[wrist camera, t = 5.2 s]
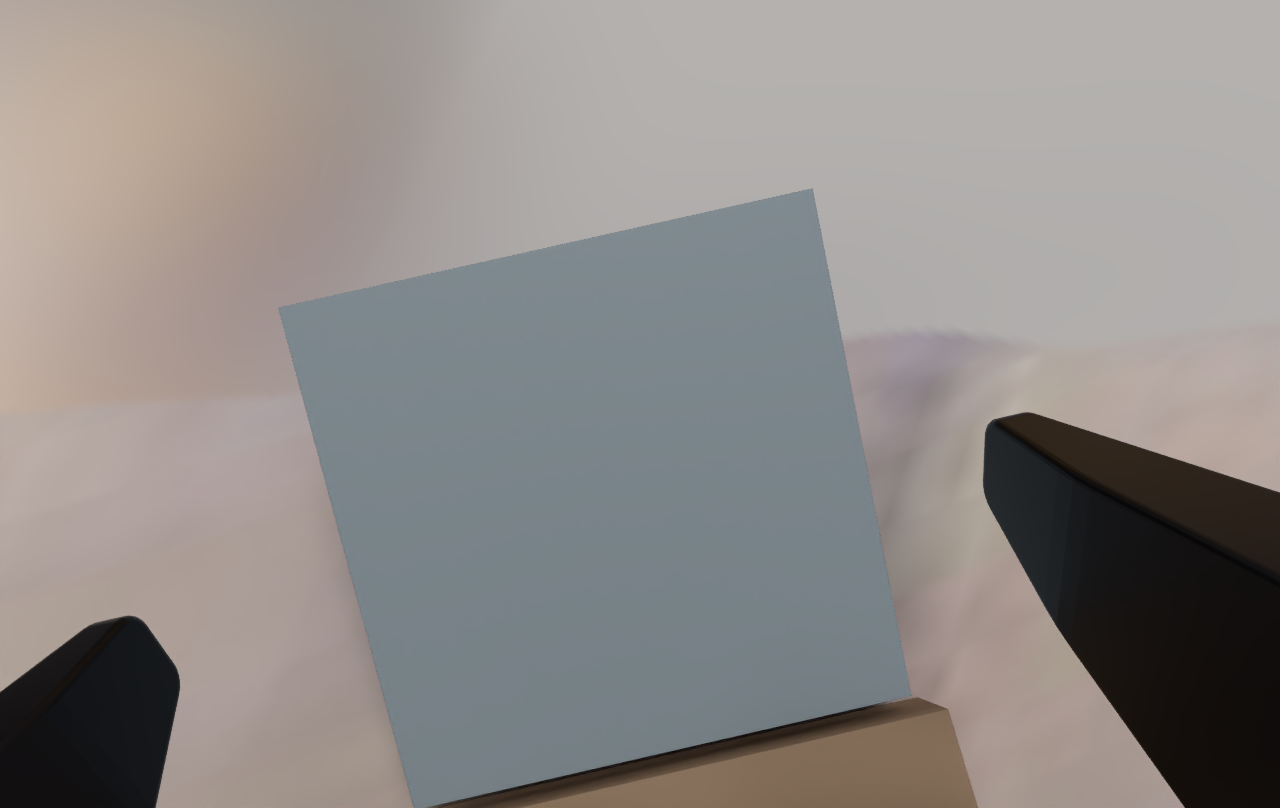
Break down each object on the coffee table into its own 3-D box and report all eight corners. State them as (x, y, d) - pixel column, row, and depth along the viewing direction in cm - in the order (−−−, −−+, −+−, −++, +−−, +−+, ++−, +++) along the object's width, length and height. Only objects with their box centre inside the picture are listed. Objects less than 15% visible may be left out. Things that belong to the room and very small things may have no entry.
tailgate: (911, 695, 15) (812, 188, 14) (414, 810, 15) (278, 307, 14) (880, 656, 17) (790, 203, 16) (435, 759, 17) (315, 309, 16)
